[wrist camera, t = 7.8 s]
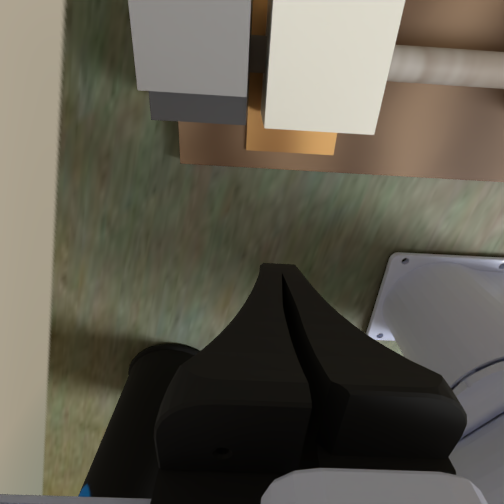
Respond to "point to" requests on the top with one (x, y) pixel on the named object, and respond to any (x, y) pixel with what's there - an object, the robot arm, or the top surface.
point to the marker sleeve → (328, 63)
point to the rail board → (390, 105)
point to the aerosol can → (135, 427)
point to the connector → (193, 58)
